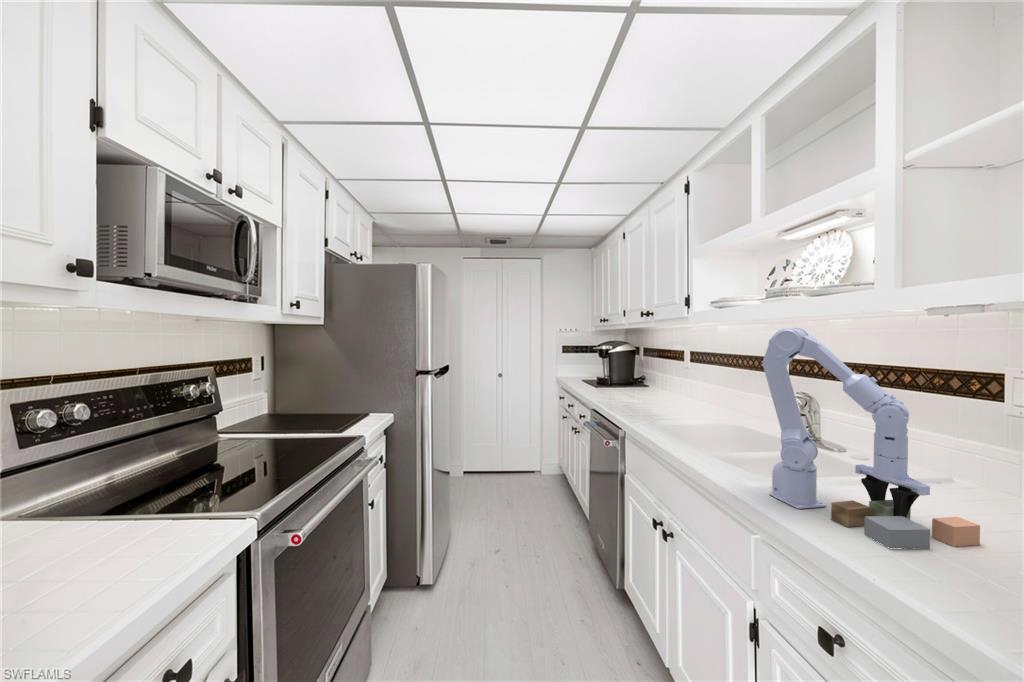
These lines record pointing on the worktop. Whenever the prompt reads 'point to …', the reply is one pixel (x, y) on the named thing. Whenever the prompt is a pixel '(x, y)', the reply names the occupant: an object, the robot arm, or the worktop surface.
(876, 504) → the sage brick
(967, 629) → the worktop surface
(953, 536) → the terracotta brick
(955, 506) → the worktop surface
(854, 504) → the walnut brick
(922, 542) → the slate brick
